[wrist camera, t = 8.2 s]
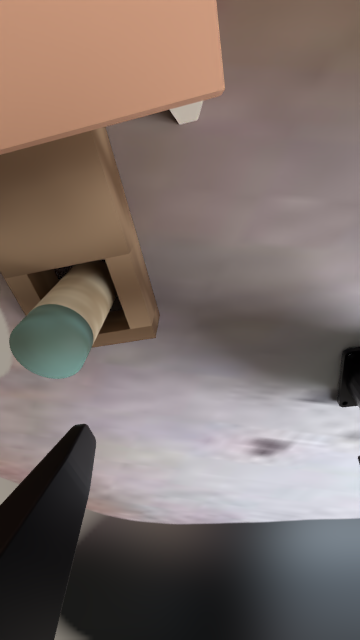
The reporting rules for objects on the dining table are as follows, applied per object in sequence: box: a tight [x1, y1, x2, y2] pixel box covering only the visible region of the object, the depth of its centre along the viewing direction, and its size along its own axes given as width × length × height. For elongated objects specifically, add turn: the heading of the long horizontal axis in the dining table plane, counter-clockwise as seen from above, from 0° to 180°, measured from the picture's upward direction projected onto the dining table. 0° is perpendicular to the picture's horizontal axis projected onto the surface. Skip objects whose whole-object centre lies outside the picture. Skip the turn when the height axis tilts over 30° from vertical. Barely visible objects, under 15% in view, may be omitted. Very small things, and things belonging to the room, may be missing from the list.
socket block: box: [0, 127, 160, 347], centre depth 17 cm, size 16×8×3 cm, turn 12°
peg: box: [9, 260, 117, 379], centre depth 17 cm, size 4×4×8 cm
